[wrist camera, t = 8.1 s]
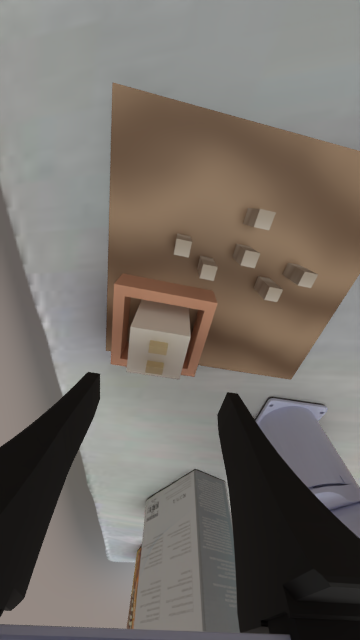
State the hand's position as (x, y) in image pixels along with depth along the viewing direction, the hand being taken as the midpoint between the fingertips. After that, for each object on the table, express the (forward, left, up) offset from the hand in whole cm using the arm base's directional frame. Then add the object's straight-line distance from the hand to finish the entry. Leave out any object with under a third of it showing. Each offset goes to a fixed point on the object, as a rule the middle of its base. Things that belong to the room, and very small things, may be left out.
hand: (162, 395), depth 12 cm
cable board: (+5, -4, -10) cm, 12 cm away
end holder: (0, +1, -8) cm, 8 cm away
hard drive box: (-37, -9, -10) cm, 40 cm away
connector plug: (0, +1, -8) cm, 8 cm away
